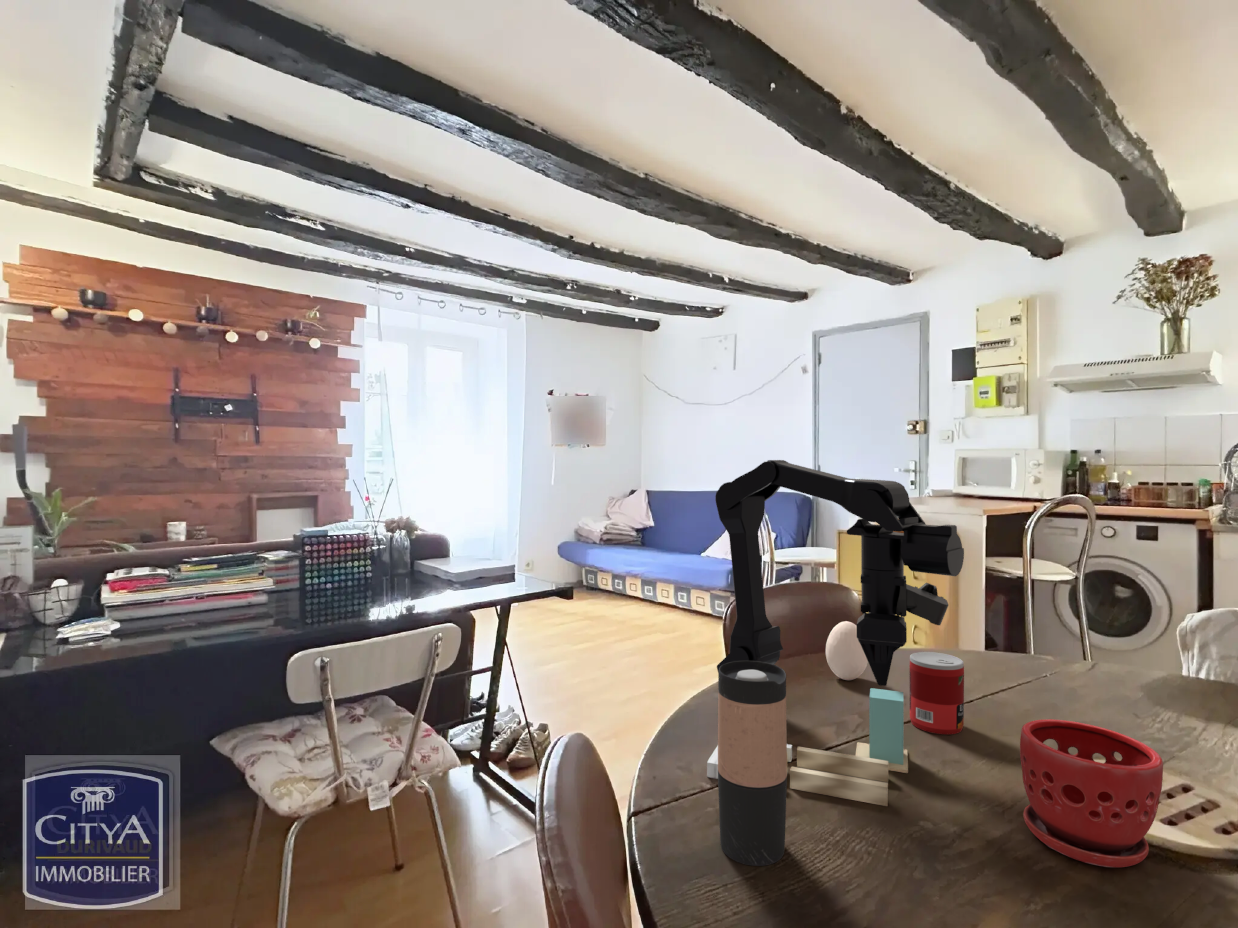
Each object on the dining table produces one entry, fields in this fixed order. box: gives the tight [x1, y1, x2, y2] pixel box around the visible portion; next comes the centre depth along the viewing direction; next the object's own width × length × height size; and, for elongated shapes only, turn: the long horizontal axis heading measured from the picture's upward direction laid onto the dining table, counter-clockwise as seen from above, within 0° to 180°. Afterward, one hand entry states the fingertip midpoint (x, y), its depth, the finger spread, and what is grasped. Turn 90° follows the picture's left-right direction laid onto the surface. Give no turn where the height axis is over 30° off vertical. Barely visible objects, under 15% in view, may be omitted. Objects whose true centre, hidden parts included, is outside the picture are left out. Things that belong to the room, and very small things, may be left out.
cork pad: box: [854, 741, 909, 774], centre depth 97 cm, size 7×7×1 cm
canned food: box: [908, 651, 965, 736], centre depth 108 cm, size 8×8×11 cm
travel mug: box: [717, 661, 788, 867], centre depth 75 cm, size 8×8×20 cm
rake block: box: [868, 687, 905, 765], centre depth 96 cm, size 4×4×9 cm
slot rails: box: [789, 746, 889, 807], centre depth 89 cm, size 12×8×2 cm, turn 67°
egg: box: [825, 620, 869, 681], centre depth 131 cm, size 8×8×11 cm
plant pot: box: [1019, 718, 1164, 868], centre depth 75 cm, size 13×13×12 cm
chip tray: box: [706, 743, 793, 780], centre depth 94 cm, size 10×10×2 cm
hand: (882, 675), depth 96 cm, fingers open, 9 cm apart
